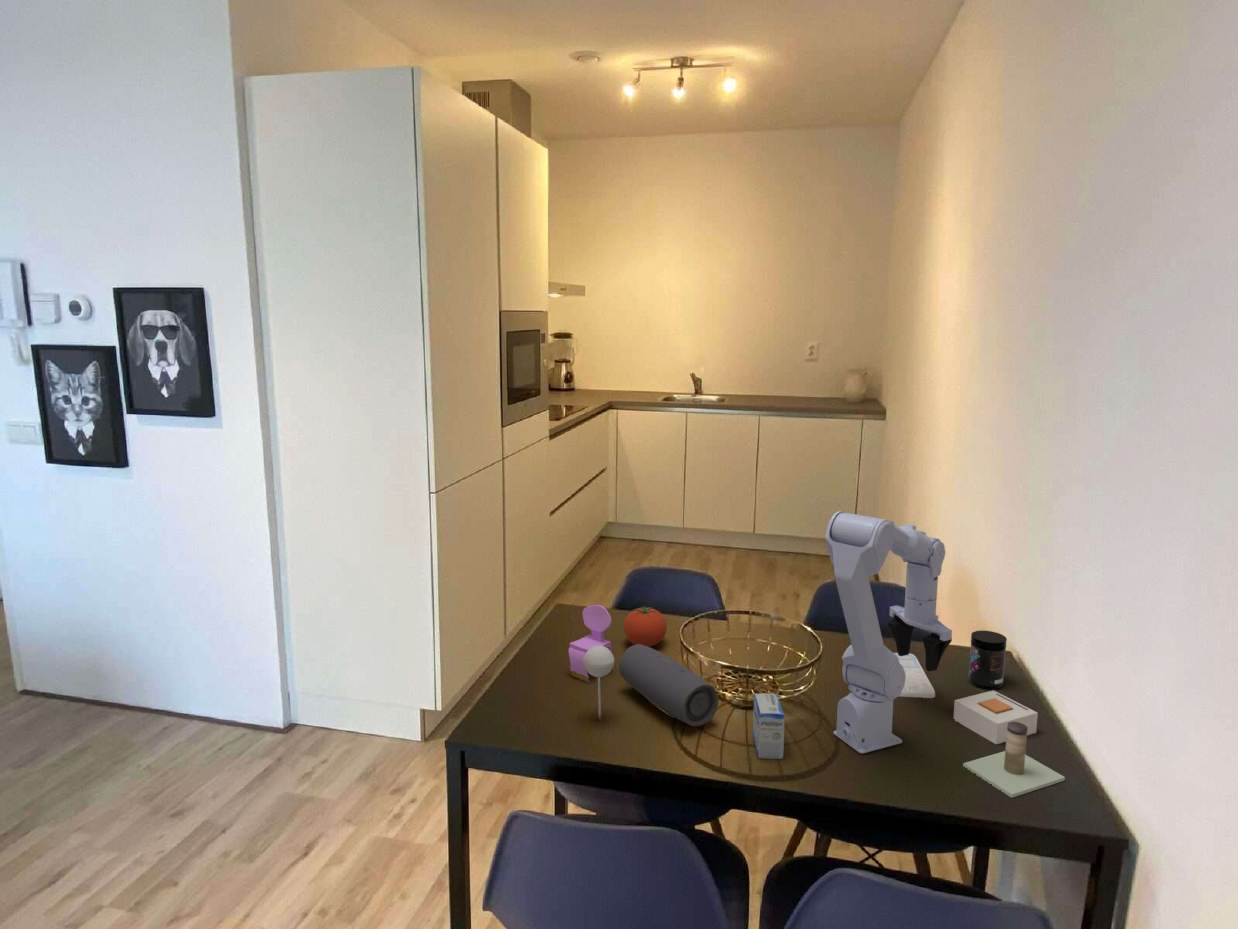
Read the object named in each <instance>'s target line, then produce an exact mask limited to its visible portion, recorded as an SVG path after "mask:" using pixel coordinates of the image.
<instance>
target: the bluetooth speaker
mask: <svg viewBox="0 0 1238 929" xmlns="http://www.w3.org/2000/svg"><path fill="white" fill-rule="evenodd" d="M618 669H619V670H618V671H619V674H620V675H621V677H622V678H623V679H624V681H626V682H627V684H629V685H630V686H631V687H632V688H634V690H636V691H637V692H638V693H640V695H642V696H643V697H644V698H645V699H646V700H648V701H649V703H651V702H652V703H653V704H654V705H656V706H658V707H659V708H661V709H662V710H664V711H665V712H666V713H668V714H669V715H671V716H673V717H676V718H678V719H677V720H680V721H681V722H684V723H685V724H687V725H689V726H692V727H700V726H703V725H705V724H707V723H708V722H710V720H712V719H713V717H714V716H715V714H716V712H717V709H718V706H719V695H718V692H717V690H716V689H715V687H714V686H713V685H711V684H710V683H709V682H708V681H707V680H706V679H704V678H702V677H701V676H699V675H698V674H696V673H695V672H694V671H692V670H691V669H689V668H687V667H686V666H684V665H683V664H681V663H680V662H678V661H676V660H675V659H673V658H671V657H669V656H668V655H666V654H663V653H662V652H660V651H658V650H656V649H654V648H652V647H648V646H645V645H642V644H636V645H635V644H633V645H631V646H630V647H628V648H627V649H626V650H625V651H624V653H623V655H622V657H621V658H620V663H619V666H618ZM652 703H651V704H652ZM653 704H652V705H653ZM654 705H653V706H654Z"/></svg>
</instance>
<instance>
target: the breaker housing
mask: <svg viewBox="0 0 1238 929" xmlns="http://www.w3.org/2000/svg"><path fill="white" fill-rule="evenodd" d="M993 698H995V699H997V700H999V701H1001V702H1003V703H1005V704H1007V705H1009V706H1011V707H1012V710H1010V711H1007V712H1003V713H999V714H995V713H993V712H991V711H989V710H988V709H986V708H984V707H982V706H980V705H979V702H982V701H986V700H990V699H993ZM953 708H954V709H953V719H955V720H954V721H955V722H957V723H958V722H959V724H960V725H962V726H964V727H965V728H967V729H969V730H970V731H972V732H974V733H976V734H978V735H979V736H981V737H982V738H985V739H986V740H988V741H989V742H991V743H993V744H995V745H999V744H1003V743H1006V737H1007V725H1008V723H1009V722H1019V723H1022V724H1024V725H1026V726H1027V728H1028V730H1027V736H1030V735H1033V734H1037V726H1038V715H1039V713H1038V712H1037V711H1035V710H1033V709H1031V708H1029V707H1027V706H1025V705H1024V704H1021V703H1019V702H1017V701H1015V700H1014V699H1012V698H1009V697H1008V696H1005V695H1004V694H1002V693H999V692H998V691H996V690H995V689H992V690H989V691H985V692H981V693H977V694H975V695H974V694H973V695H969V696H966V697H962V698H958V699H955V700H954V707H953Z"/></svg>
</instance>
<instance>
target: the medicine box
mask: <svg viewBox="0 0 1238 929" xmlns="http://www.w3.org/2000/svg"><path fill="white" fill-rule="evenodd" d="M752 737H753V741H754V745H755V749H756V752H757V757H758V758H759V759H768V760H769V759H770V760H772V759H775V760H779V759H780V760H781V759H784V749H785V745H784V744H785V742H784V740H785V713H784V711H783V708H782V705H781V703H780V699H779V696H778V693H754V695H753V715H752Z"/></svg>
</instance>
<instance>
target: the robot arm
mask: <svg viewBox="0 0 1238 929" xmlns="http://www.w3.org/2000/svg"><path fill="white" fill-rule="evenodd" d="M916 528H917V526H916V525H914V524H910V523H905V525H899V526H898V525H896V524H895V522H894V521H893V520H889V519H886V518H879V517H875V516H874V517H872V516H867V515H861V514H856V513H851V512H850V513H848V512H846V511H841V510H839V511H836V512H835V513H834V514H832V516H831V517H830V519H829V520H828V523H827V526H826V530H825V533H824V534H825V535H824V540H825V544H826V547H827V552H828V556H829V560H830V563H831V564H832V565H833V569H834V570H833V572H834V573H833V574H834V578H835V583H836V584H835V585H836V588H837V592H838V596H839V600H840V604H841V607H842V612H843V616H844V619H845V624H846V628H847V632H848V636H849V639H850V645H849V646H848V647H846V649H845V651H844V652H843V654H842V657H841V660H842V669H841V670H842V671H841V672H842V678H843V681H844V682H845V683H846V684H847V685H848V690H849V691H850V692H849V693H848V695H846V696H844V697H842V698H840V699H839V701H838V702H837V708H836V730H833V735H835V736H836V737H837V738H838V739H840V740H841V741H843V742H844V743H846V744H847V745H848V746H849V747H851V748H852V749H854V750H855V751H856V752H858V753H859V754H861V755H862V754H867V753H870V752H873V751H876V750H877V751H878V750H882V749H884V748H888V747H892V746H895V745H900V744H903V740H902V739H901V738H900V737H898V736H896V735H895V734H894V733H893V714H894V711H893V710H894V700H895V699H896V698H899V697H898V696H899V695H900V694H901V692H902V690H903V688H904V685H905V679H906V675H905V671H904V668H903V666H902V665H901V664H900V663H899V659H898V657H897V656H896V655H895V654H894V653H895V652H893V651H892V650H890V648H888V647H887V646H886V645H885V644H884V642H883V636H882V633H881V628H880V623H879V618H878V613H877V610H876V605H875V601H874V596H873V591H872V587H871V583H870V579H869V578H870V577H872V576H874V575H877V574H879V573H880V571H881V569H882V567H883V565H884V563H885V561H886V559H887V557H888V554H889V552H890V551H891V552H892V554H894V555H896V556H898V557H900V558H901V559H902V562H903V563H906V574H905V576H906V577H905V594H904V595H905V596H904V606H903V607H902V606H900V605H897V604H896V605H892V606H889V617H891V618H892V619H890V620H888V621H887V625H888V627H889V628H890V630H891V633H892V635H893V638H894V642H895V646H896V651H897V653H898V655H899V656H905V655H909V654H910V652H911V651H910V650H911V643H912V642H911V640H912V635H913V631H914V628H918V629H920V630H923V631H925V632H928V634H930V635H926V636H922V637H921V640H922V642H923V647H924V651H925V652H924V653H925V669H926V671H927V672H934V671H937V670H938V667H939V664H940V661H941V659H942V657H943V655H944V653H945V651H946V649H947V648H948V647H949V645H950V644H951V643H952V640H953V636H952V634H953V630H952V629H951V628H949V627H947V626H946V625H945V624H943V623H942V622H941V621H940V620H939V615H936V613H937V600H938V597H937V596H938V582H939V576H941V572H942V568H943V563H944V560H945V557H946V546H945V544H944V542H942V541H941V540H940V539H939V538H936V537H931V536H928V535H927V533H926V532H925V531H923V530H917V529H916Z"/></svg>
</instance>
